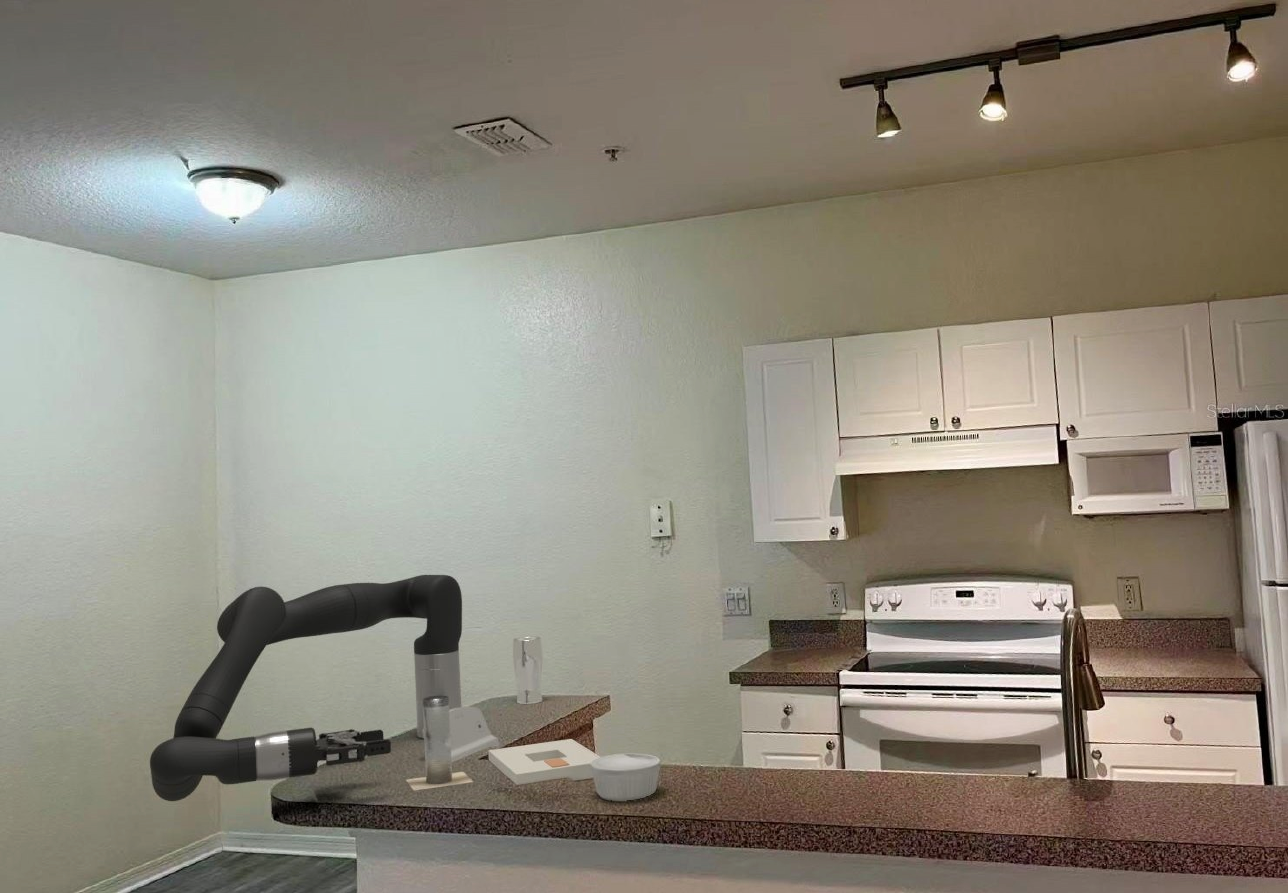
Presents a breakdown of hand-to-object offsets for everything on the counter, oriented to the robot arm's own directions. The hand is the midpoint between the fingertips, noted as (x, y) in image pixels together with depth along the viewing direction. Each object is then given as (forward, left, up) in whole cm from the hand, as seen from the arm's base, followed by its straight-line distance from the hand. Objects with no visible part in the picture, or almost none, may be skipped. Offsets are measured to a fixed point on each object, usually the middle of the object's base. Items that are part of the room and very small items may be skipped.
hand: (386, 740), depth 182 cm
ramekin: (+22, +35, -9) cm, 42 cm away
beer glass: (-65, +43, -9) cm, 78 cm away
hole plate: (0, +28, -9) cm, 29 cm away
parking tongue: (0, +9, -9) cm, 12 cm away
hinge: (-20, +16, -9) cm, 27 cm away
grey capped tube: (0, +9, -8) cm, 12 cm away
